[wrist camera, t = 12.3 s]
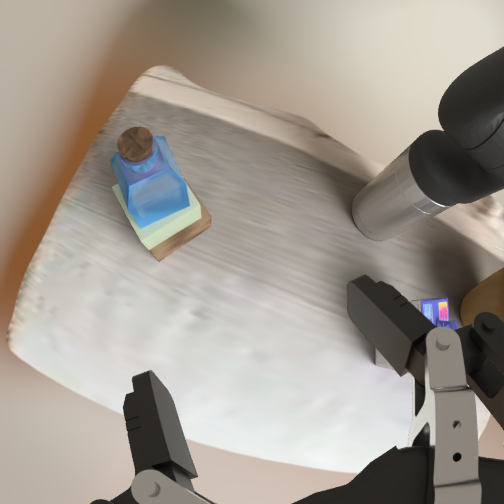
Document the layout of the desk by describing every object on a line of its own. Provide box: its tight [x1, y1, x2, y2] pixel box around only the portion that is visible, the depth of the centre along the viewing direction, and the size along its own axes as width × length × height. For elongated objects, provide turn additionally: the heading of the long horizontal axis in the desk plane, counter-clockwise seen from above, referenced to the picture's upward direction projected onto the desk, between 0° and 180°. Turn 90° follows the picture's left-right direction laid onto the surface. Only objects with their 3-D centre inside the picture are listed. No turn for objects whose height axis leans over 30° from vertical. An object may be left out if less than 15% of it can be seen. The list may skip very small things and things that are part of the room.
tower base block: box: [150, 179, 211, 262], centre depth 43 cm, size 9×9×5 cm
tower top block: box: [112, 183, 201, 250], centre depth 38 cm, size 8×8×5 cm
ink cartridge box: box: [376, 298, 457, 373], centre depth 39 cm, size 10×6×14 cm, turn 1°
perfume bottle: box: [110, 127, 190, 228], centre depth 30 cm, size 6×6×12 cm
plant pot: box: [460, 268, 504, 326], centre depth 41 cm, size 15×15×16 cm
